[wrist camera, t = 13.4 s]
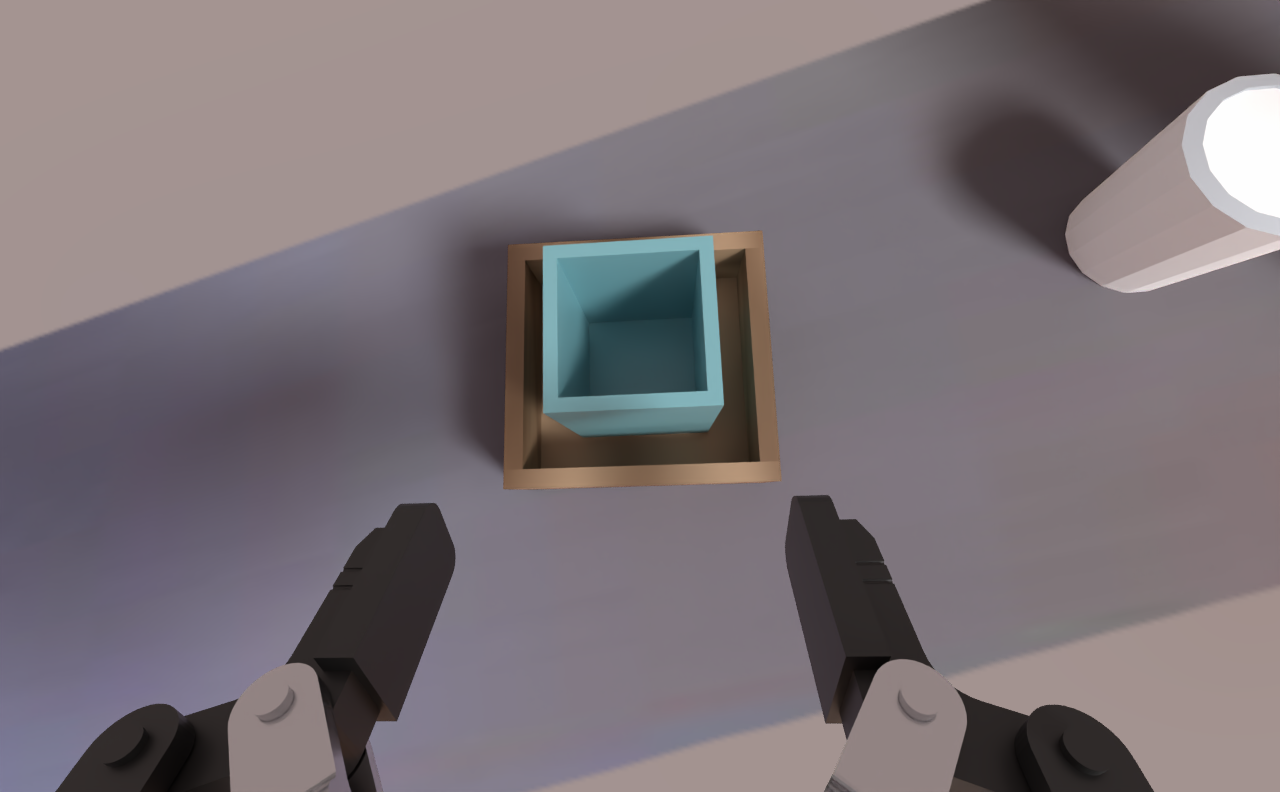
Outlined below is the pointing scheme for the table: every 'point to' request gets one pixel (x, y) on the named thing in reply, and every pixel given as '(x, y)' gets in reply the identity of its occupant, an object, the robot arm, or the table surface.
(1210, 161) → the white cylinder
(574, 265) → the teal crate
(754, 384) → the walnut crate
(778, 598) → the table surface
